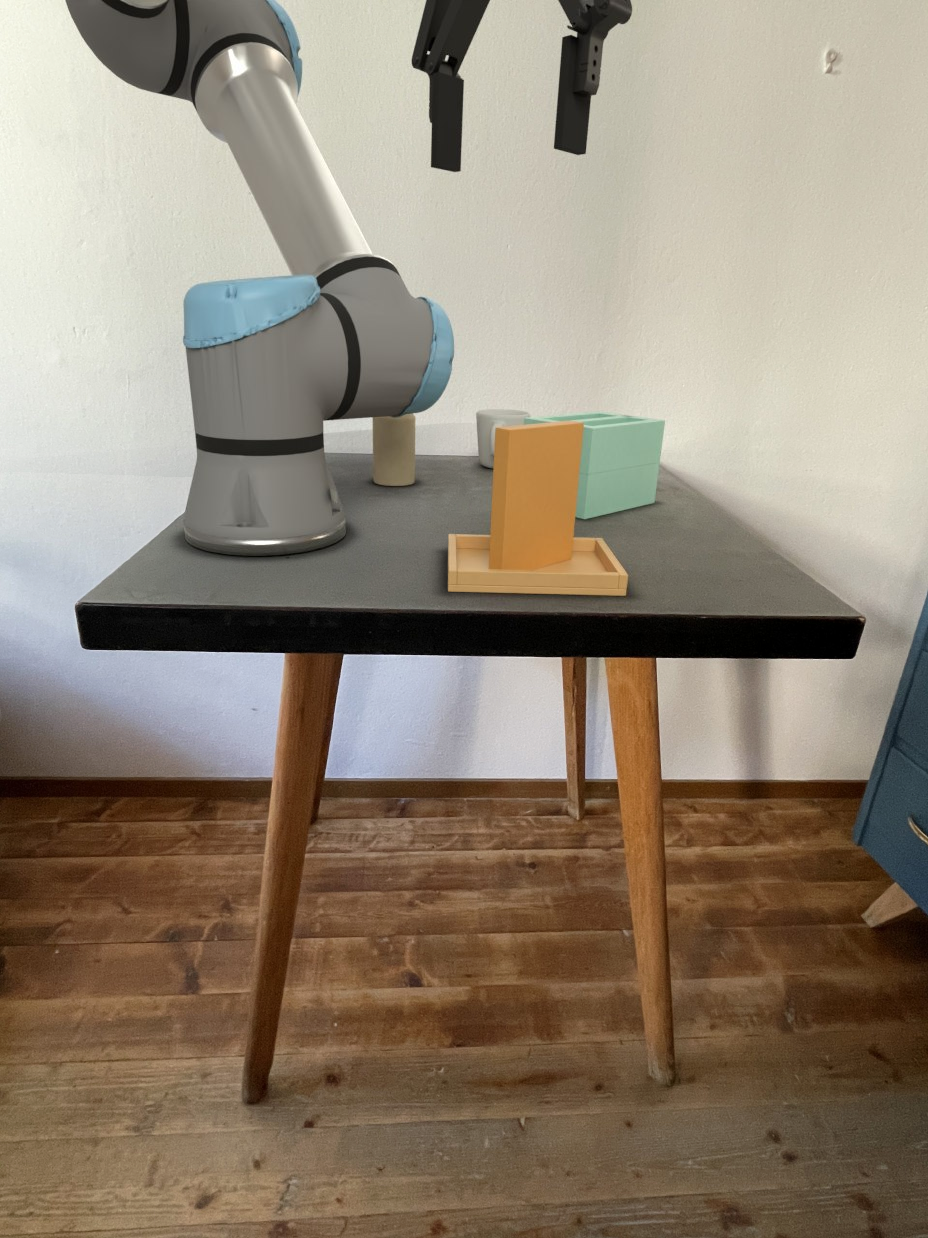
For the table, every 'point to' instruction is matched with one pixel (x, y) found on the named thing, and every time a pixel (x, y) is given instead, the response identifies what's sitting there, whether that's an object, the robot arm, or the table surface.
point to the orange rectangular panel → (534, 494)
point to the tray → (535, 570)
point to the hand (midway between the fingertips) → (502, 161)
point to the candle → (394, 450)
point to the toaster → (614, 461)
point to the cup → (486, 430)
